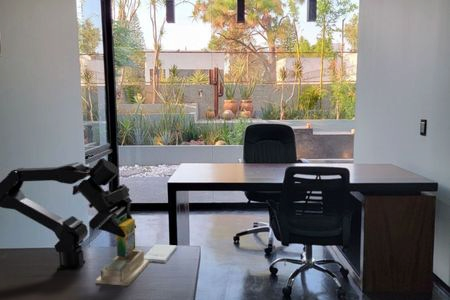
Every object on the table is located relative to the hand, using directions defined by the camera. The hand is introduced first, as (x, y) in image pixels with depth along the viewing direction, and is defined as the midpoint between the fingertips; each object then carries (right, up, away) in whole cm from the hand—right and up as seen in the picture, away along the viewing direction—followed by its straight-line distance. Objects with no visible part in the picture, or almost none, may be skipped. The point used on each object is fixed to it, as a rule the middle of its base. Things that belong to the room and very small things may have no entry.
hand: (130, 232), depth 126 cm
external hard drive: (+7, -11, +13) cm, 19 cm away
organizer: (-2, -12, -1) cm, 12 cm away
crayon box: (-1, -7, +1) cm, 7 cm away
